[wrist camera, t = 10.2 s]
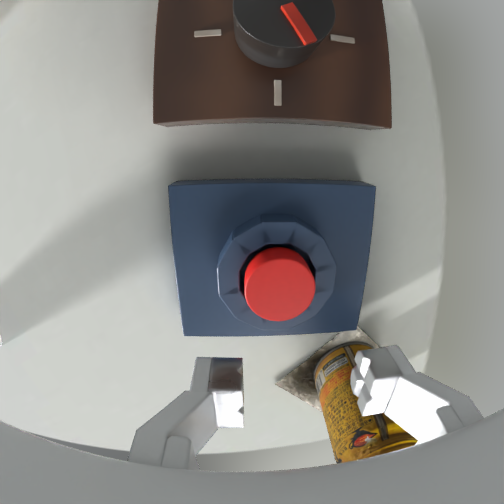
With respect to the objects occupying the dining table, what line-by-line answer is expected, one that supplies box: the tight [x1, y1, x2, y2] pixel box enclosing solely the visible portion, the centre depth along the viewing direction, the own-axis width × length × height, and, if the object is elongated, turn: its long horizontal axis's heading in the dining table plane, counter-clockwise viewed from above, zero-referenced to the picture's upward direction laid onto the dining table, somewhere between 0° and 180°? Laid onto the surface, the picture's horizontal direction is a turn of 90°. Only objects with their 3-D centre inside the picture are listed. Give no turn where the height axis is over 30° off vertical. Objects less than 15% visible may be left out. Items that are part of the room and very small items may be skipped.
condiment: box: [275, 326, 418, 464], centre depth 18 cm, size 7×8×12 cm
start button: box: [244, 247, 315, 321], centre depth 16 cm, size 4×4×2 cm
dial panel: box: [153, 0, 392, 130], centre depth 14 cm, size 13×10×3 cm
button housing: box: [168, 179, 376, 336], centre depth 18 cm, size 12×10×4 cm
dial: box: [233, 0, 335, 68], centre depth 11 cm, size 4×4×4 cm
